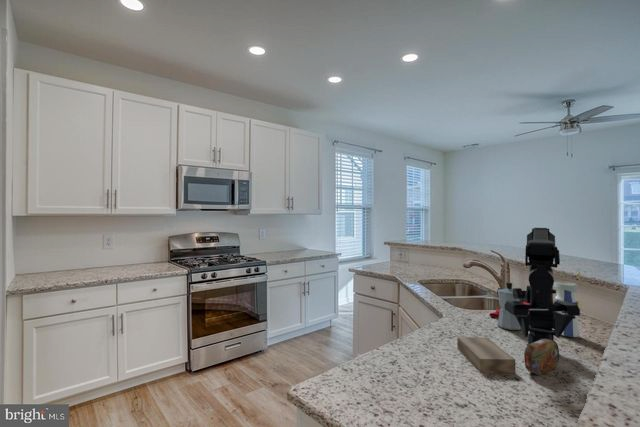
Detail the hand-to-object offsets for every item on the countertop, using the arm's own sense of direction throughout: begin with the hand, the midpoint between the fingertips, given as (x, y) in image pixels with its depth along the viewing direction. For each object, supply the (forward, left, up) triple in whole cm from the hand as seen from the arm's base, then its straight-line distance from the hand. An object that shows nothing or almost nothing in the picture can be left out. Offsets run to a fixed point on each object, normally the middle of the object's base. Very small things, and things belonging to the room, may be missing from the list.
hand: (541, 337), depth 96 cm
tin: (0, 0, -10) cm, 10 cm away
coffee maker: (-11, -39, -10) cm, 42 cm away
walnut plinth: (+14, -6, -10) cm, 18 cm away
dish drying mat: (-31, -57, -10) cm, 66 cm away
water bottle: (-29, -31, -10) cm, 44 cm away
